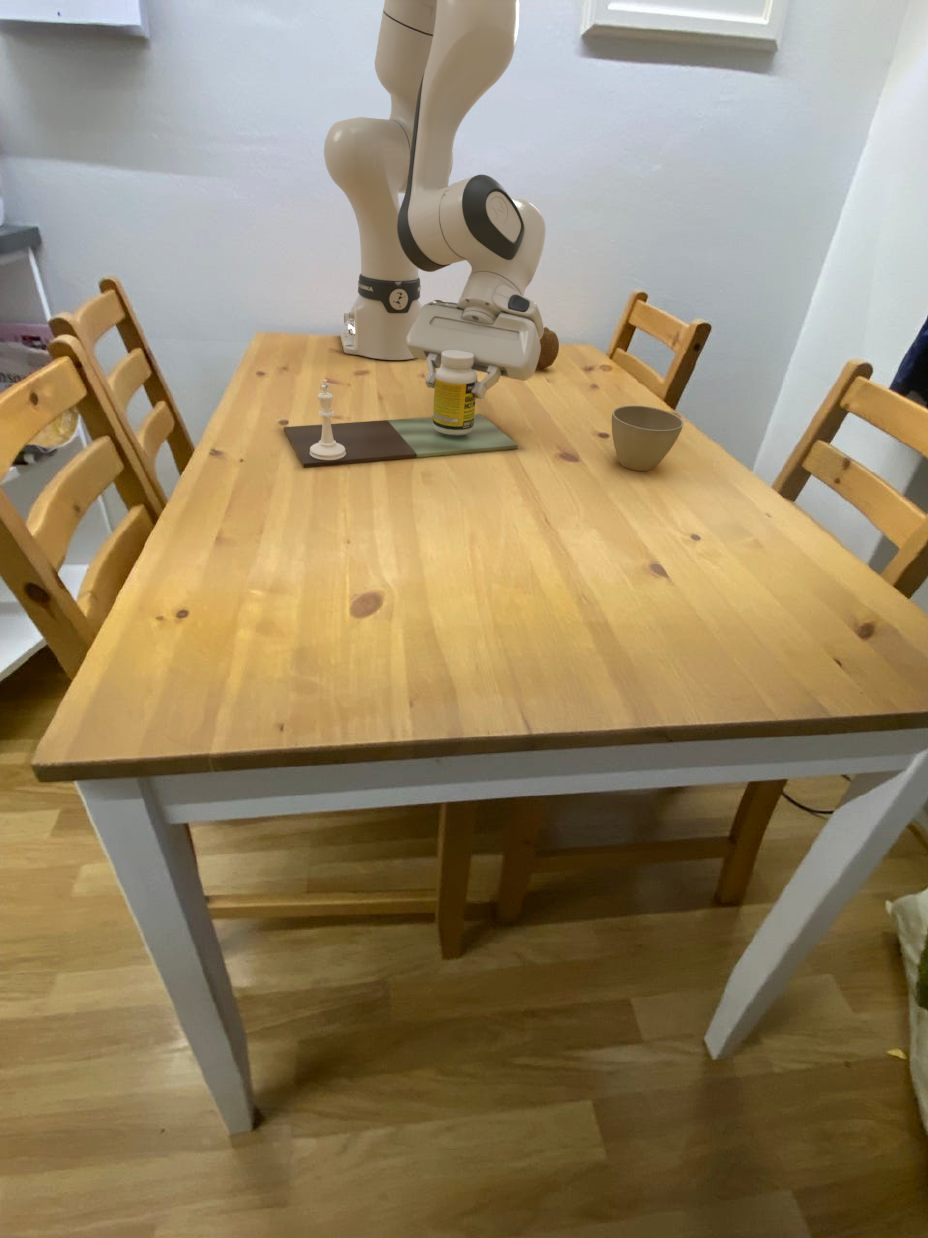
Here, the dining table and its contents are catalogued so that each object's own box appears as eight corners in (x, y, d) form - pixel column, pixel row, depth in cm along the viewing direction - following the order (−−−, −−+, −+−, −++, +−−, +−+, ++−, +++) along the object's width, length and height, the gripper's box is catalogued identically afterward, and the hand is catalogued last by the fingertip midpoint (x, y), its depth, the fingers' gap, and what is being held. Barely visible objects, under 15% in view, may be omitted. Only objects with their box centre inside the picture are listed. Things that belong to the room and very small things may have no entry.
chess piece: (352, 450, 97) (350, 378, 92) (335, 463, 94) (332, 388, 88) (320, 444, 99) (317, 372, 93) (302, 456, 95) (298, 381, 89)
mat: (283, 430, 103) (283, 426, 103) (480, 417, 115) (480, 413, 114) (303, 467, 93) (303, 463, 93) (517, 448, 104) (518, 444, 104)
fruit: (560, 372, 140) (567, 330, 135) (532, 373, 138) (538, 331, 133) (547, 364, 145) (553, 323, 140) (520, 364, 143) (525, 323, 138)
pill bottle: (469, 438, 103) (474, 361, 96) (428, 433, 103) (431, 356, 97) (476, 425, 108) (482, 351, 101) (438, 419, 108) (441, 345, 102)
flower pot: (596, 469, 100) (605, 420, 96) (610, 446, 108) (619, 400, 104) (666, 484, 97) (679, 434, 93) (675, 460, 105) (687, 413, 101)
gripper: (420, 284, 104) (384, 365, 102) (547, 305, 97) (512, 393, 95) (433, 311, 110) (400, 388, 108) (554, 333, 103) (521, 416, 101)
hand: (453, 391), depth 102 cm, fingers closed on pill bottle, 6 cm apart
